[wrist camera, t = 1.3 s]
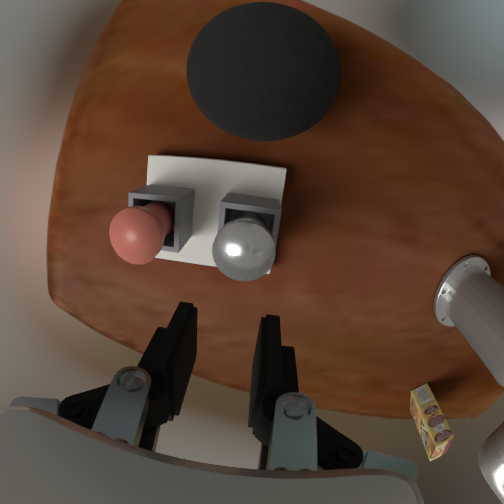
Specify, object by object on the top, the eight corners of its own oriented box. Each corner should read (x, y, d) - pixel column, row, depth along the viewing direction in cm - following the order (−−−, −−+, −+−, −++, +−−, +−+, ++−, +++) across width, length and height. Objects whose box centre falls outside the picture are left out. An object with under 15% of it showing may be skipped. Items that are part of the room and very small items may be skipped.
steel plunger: (277, 208, 25) (280, 226, 20) (269, 255, 27) (270, 284, 21) (226, 201, 25) (214, 217, 20) (221, 249, 27) (210, 276, 21)
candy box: (410, 389, 42) (434, 448, 28) (428, 381, 41) (454, 437, 27) (409, 409, 45) (428, 462, 31) (425, 402, 44) (447, 453, 30)
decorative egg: (329, 57, 24) (376, -2, 10) (307, 154, 28) (345, 162, 14) (222, 35, 23) (190, -35, 9) (197, 131, 28) (138, 121, 14)
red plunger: (183, 196, 25) (161, 211, 20) (180, 243, 27) (160, 268, 21) (138, 192, 25) (108, 206, 20) (138, 237, 27) (111, 260, 21)
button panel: (285, 167, 29) (291, 173, 22) (269, 266, 33) (269, 296, 27) (155, 154, 29) (127, 158, 22) (151, 249, 33) (128, 274, 27)
